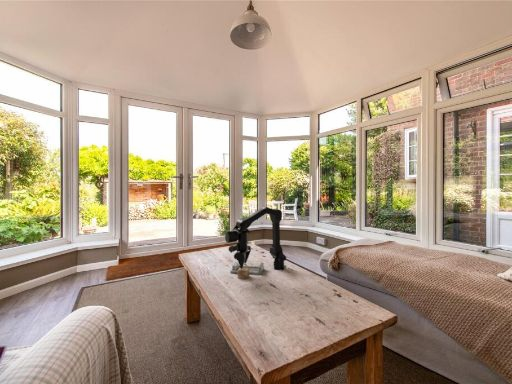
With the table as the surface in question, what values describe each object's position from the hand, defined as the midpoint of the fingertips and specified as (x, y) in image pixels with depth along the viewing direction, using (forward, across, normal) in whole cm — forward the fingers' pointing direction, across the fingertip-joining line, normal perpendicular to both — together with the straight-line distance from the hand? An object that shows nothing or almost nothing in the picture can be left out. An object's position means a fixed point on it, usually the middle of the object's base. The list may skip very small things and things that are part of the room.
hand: (243, 265), depth 147 cm
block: (+7, 0, 0) cm, 7 cm away
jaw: (+6, -10, -8) cm, 14 cm away
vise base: (+7, -10, 0) cm, 12 cm away
